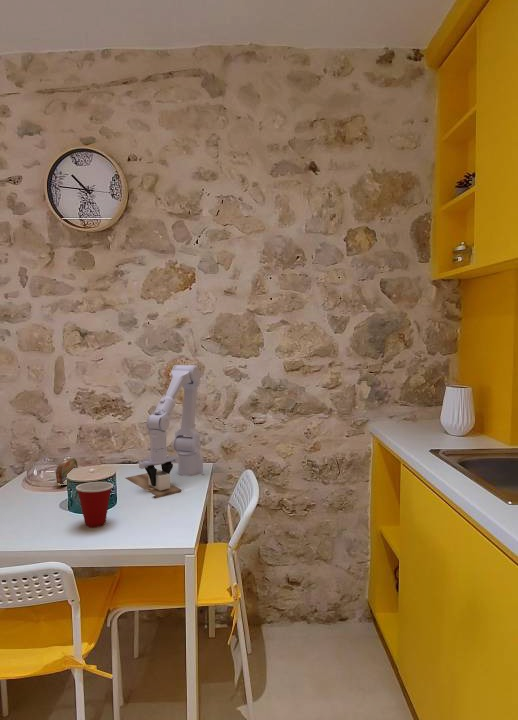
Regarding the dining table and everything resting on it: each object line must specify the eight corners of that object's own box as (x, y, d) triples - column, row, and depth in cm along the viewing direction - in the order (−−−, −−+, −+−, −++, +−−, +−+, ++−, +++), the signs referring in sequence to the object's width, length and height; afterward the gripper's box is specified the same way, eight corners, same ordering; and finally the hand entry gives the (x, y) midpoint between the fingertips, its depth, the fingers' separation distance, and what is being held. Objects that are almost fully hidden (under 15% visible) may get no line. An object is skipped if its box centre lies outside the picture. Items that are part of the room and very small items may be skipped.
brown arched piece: (63, 489, 184) (62, 466, 183) (54, 489, 184) (53, 466, 183) (78, 476, 199) (78, 455, 198) (71, 476, 199) (70, 455, 198)
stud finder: (158, 482, 186) (158, 467, 186) (170, 488, 179) (169, 473, 179) (148, 484, 184) (148, 470, 183) (160, 490, 177) (159, 475, 176)
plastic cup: (121, 518, 155) (120, 480, 154) (100, 532, 145) (99, 492, 144) (92, 514, 158) (90, 477, 158) (69, 528, 148) (67, 488, 147)
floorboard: (148, 475, 199) (148, 472, 199) (181, 492, 179) (181, 488, 179) (124, 480, 193) (124, 477, 193) (155, 498, 173) (155, 495, 173)
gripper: (170, 442, 188) (171, 477, 189) (134, 448, 179) (135, 485, 180) (180, 445, 182) (181, 482, 183) (143, 452, 173) (144, 490, 174)
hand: (159, 484), depth 181 cm, fingers closed on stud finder, 4 cm apart
